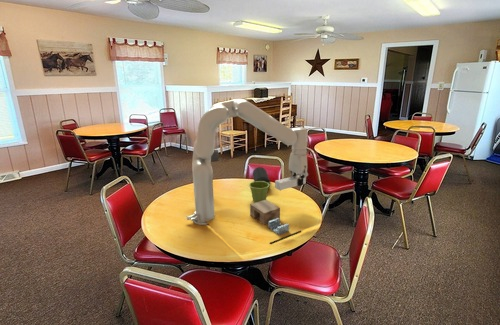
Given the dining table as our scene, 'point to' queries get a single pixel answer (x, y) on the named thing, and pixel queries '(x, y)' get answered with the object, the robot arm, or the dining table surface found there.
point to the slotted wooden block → (264, 211)
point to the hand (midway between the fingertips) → (297, 183)
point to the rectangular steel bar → (288, 182)
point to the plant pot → (259, 190)
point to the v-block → (279, 229)
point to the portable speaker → (261, 175)
